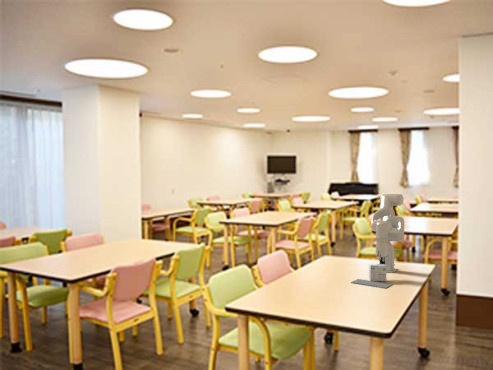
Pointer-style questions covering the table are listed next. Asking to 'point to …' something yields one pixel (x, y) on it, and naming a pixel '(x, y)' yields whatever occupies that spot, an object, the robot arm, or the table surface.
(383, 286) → the mat
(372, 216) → the robot arm
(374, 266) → the light bulb box
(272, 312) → the table surface
